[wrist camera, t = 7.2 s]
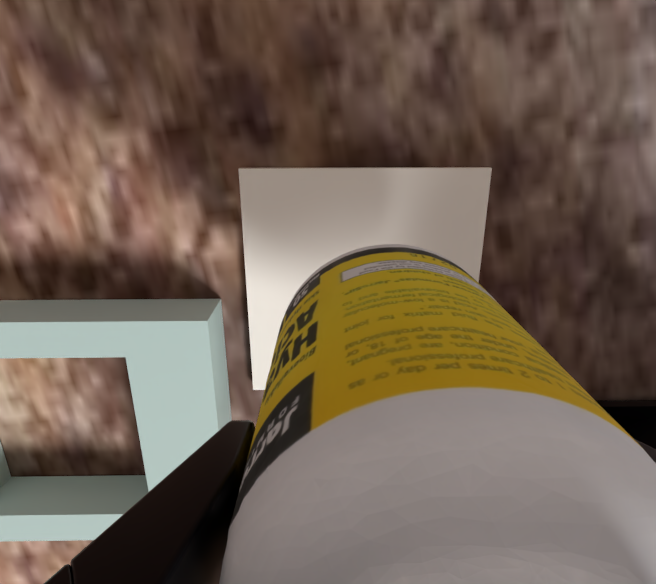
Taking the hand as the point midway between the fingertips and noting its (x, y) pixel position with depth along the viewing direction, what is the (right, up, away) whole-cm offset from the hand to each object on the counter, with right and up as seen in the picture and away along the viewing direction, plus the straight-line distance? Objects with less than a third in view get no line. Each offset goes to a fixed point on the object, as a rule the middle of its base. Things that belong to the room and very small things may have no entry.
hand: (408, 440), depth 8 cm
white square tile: (0, +3, +8) cm, 8 cm away
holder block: (-11, -2, +9) cm, 15 cm away
